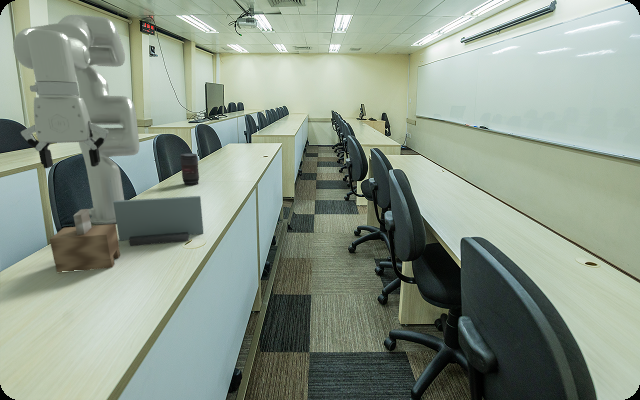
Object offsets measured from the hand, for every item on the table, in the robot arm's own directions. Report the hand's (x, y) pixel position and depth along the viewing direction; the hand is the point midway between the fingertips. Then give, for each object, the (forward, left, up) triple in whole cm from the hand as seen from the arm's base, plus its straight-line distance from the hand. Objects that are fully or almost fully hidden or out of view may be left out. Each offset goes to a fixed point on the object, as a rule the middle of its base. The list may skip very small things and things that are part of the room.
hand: (72, 166), depth 84 cm
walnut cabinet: (0, 0, -25) cm, 25 cm away
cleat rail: (+15, +11, -25) cm, 31 cm away
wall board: (+15, +16, -25) cm, 34 cm away
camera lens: (+18, +89, -26) cm, 95 cm away
